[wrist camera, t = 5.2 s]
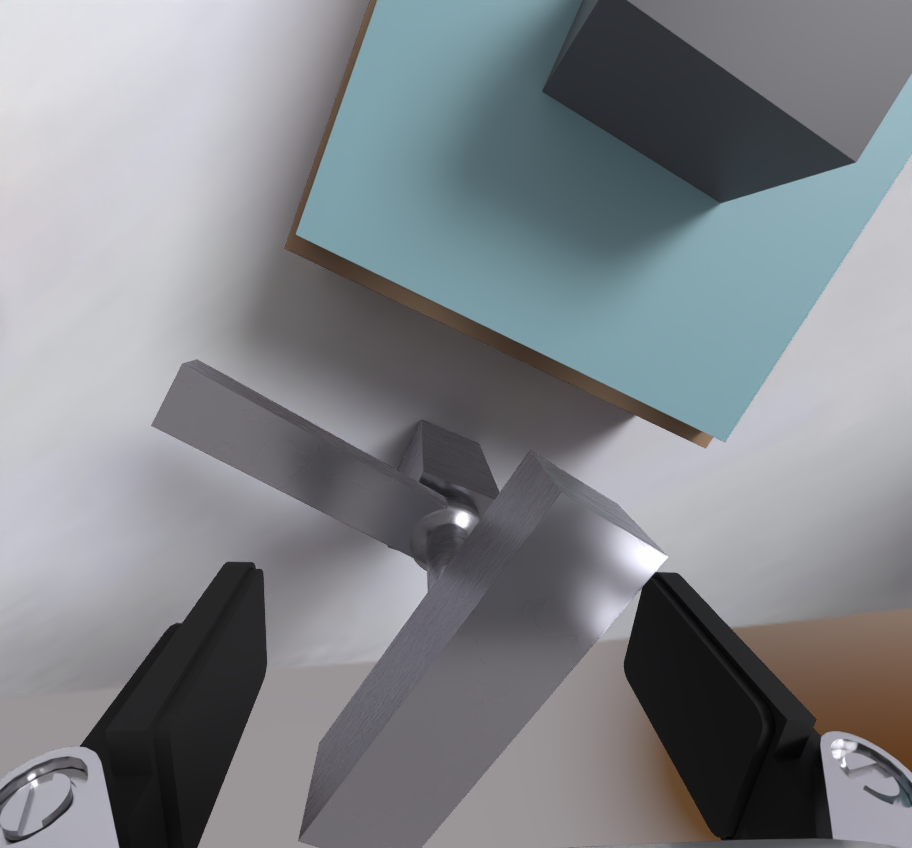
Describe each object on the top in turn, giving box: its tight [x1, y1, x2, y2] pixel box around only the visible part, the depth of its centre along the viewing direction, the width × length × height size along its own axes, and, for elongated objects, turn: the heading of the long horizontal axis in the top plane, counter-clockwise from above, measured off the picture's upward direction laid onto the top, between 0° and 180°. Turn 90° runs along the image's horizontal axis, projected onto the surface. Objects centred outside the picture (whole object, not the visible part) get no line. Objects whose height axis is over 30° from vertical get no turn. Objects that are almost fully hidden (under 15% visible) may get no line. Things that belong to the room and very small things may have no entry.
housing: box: [285, 0, 713, 448], centre depth 15 cm, size 16×16×5 cm
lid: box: [296, 0, 912, 442], centre depth 10 cm, size 15×15×5 cm
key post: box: [388, 419, 500, 550], centre depth 18 cm, size 3×3×6 cm
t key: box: [151, 360, 668, 848], centre depth 10 cm, size 9×10×6 cm
